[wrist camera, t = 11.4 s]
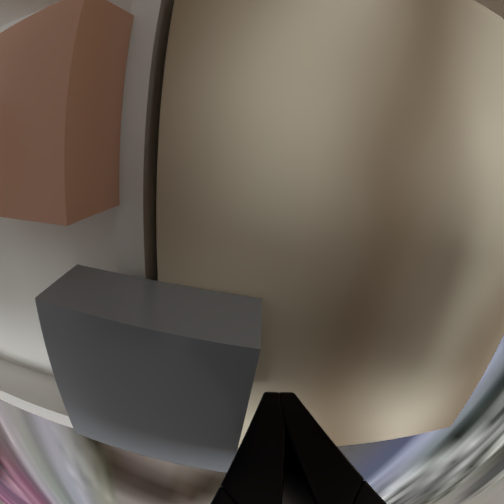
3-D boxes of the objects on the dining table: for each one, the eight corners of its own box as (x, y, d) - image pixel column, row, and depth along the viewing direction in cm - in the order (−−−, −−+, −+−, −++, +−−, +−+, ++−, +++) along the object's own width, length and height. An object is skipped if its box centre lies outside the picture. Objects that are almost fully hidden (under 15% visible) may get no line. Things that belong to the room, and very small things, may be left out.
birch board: (515, 57, 7) (548, 53, 5) (434, 398, 12) (450, 426, 10) (199, -31, 6) (188, -64, 4) (183, 405, 12) (175, 441, 10)
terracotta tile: (133, 15, 5) (86, -11, 4) (119, 205, 7) (67, 225, 5) (16, 55, 6) (-28, 51, 4) (10, 197, 8) (-34, 212, 6)
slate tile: (261, 298, 7) (261, 349, 6) (236, 424, 9) (231, 473, 7) (77, 264, 7) (34, 297, 6) (97, 392, 9) (75, 432, 7)
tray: (183, -30, 6) (165, -72, 4) (171, 403, 12) (160, 449, 9) (-29, 34, 6) (-66, 28, 3) (-1, 358, 11) (-25, 386, 9)
